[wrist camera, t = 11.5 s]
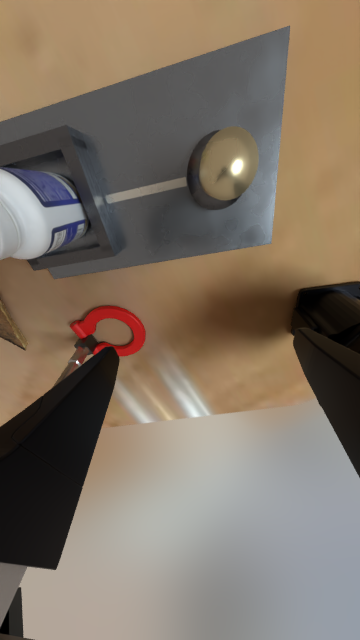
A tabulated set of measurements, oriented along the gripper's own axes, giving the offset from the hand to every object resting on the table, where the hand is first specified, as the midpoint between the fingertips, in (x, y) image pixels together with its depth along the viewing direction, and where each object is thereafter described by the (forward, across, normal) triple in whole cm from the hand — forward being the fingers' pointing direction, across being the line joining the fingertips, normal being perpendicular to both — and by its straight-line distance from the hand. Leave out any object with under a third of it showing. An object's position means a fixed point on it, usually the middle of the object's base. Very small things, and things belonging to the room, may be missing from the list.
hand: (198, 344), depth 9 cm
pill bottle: (+12, +11, -7) cm, 18 cm away
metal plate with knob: (+13, +4, -7) cm, 15 cm away
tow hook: (+13, +13, +8) cm, 20 cm away
